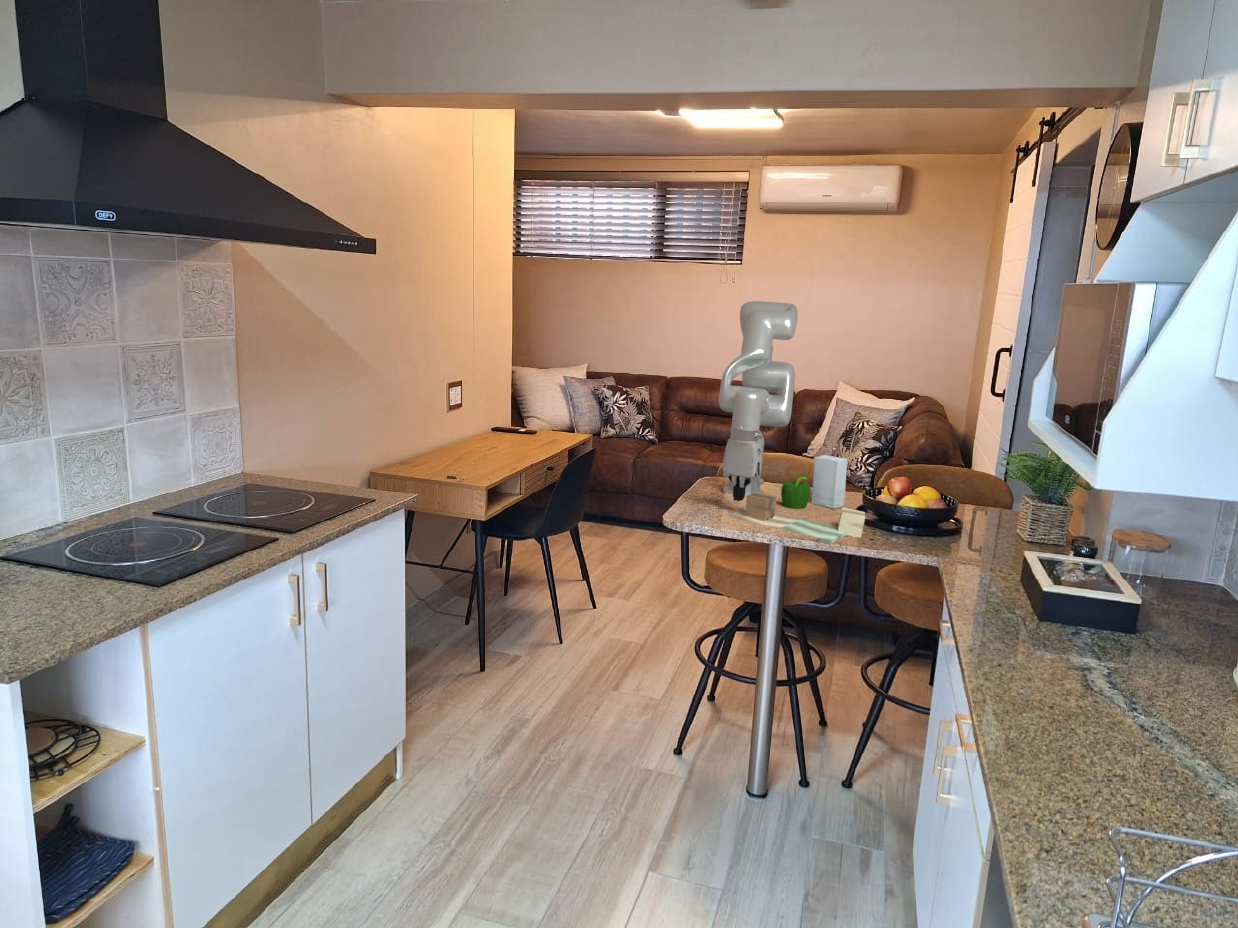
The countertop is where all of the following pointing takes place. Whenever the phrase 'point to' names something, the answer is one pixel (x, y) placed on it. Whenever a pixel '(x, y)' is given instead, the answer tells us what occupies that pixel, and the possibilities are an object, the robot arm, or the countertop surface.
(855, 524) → the beech block
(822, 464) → the skincare box
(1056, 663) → the countertop surface
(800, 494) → the bell pepper
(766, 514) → the walnut block
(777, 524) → the board
